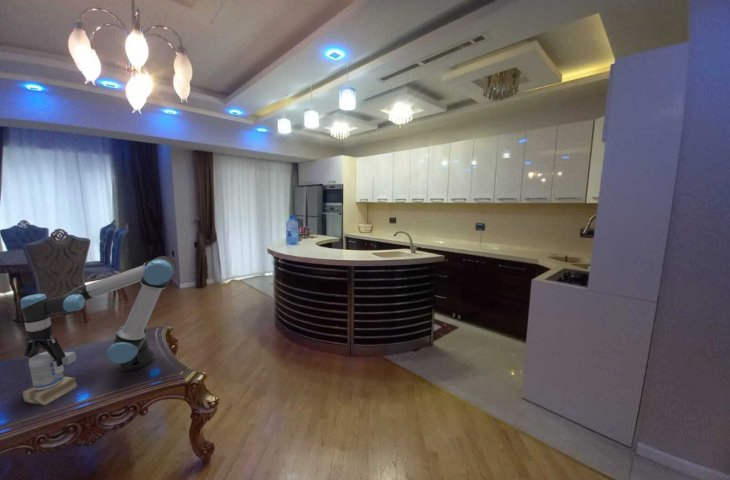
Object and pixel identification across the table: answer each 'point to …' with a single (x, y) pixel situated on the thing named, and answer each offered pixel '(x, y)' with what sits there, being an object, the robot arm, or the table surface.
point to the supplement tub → (44, 372)
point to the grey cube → (69, 358)
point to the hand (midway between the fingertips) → (48, 370)
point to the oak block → (49, 392)
